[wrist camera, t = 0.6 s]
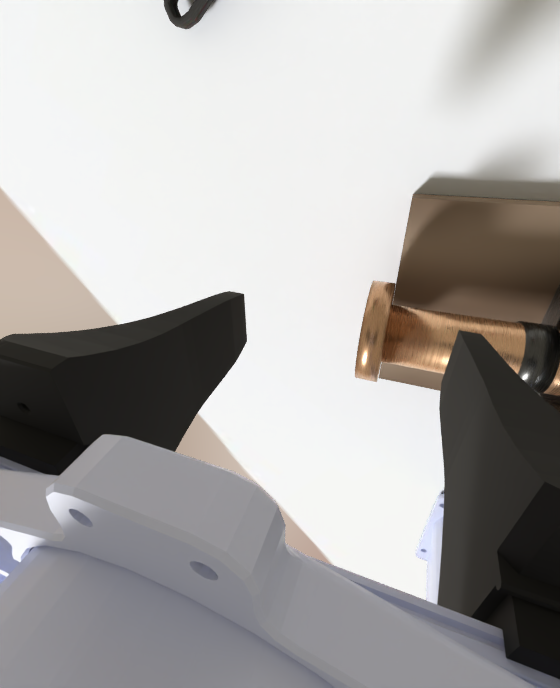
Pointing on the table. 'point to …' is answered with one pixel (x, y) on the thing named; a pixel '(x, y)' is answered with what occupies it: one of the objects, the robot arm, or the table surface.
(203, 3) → the walkie-talkie
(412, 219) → the base board
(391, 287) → the tan flared rod
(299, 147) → the table surface
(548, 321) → the block with square hole
